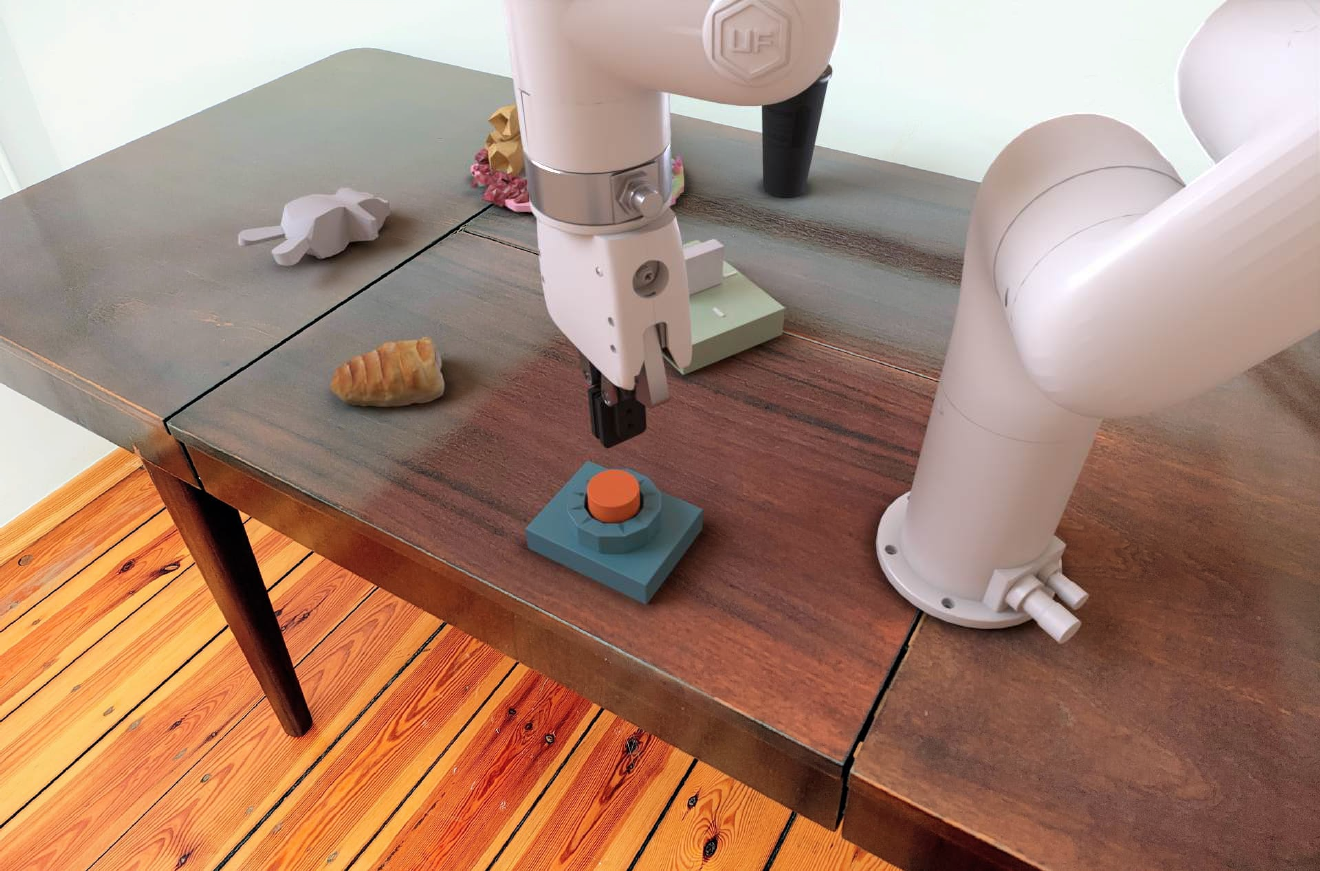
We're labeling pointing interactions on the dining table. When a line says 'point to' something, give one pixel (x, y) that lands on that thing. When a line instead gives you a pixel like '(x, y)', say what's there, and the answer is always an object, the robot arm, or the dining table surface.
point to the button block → (616, 535)
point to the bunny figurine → (322, 225)
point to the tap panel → (730, 318)
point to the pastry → (391, 375)
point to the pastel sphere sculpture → (521, 165)
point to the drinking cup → (792, 138)
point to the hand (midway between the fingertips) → (619, 433)
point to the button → (613, 496)
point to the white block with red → (704, 265)
